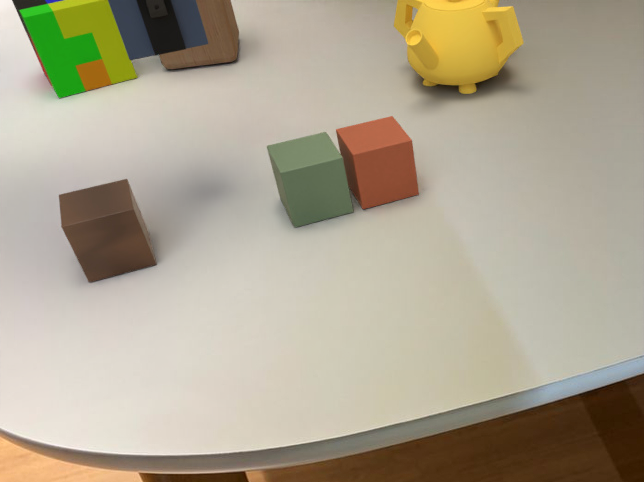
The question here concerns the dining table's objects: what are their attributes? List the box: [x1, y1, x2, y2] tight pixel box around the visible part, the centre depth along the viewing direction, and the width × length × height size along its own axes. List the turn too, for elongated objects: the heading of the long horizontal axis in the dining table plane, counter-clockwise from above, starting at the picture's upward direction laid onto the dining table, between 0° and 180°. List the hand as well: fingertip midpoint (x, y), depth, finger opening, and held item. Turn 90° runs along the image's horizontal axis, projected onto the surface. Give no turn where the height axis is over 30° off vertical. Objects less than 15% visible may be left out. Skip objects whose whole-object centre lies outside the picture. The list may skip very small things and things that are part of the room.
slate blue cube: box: [108, 0, 209, 61], centre depth 72 cm, size 7×7×7 cm
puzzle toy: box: [11, 0, 138, 99], centre depth 104 cm, size 10×10×10 cm
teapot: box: [393, 0, 525, 95], centre depth 98 cm, size 20×18×11 cm
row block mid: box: [266, 131, 354, 228], centre depth 79 cm, size 6×6×6 cm
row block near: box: [58, 178, 157, 283], centre depth 73 cm, size 6×6×6 cm
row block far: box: [335, 115, 420, 210], centre depth 81 cm, size 6×6×6 cm
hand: (164, 36), depth 74 cm, fingers closed on slate blue cube, 7 cm apart
